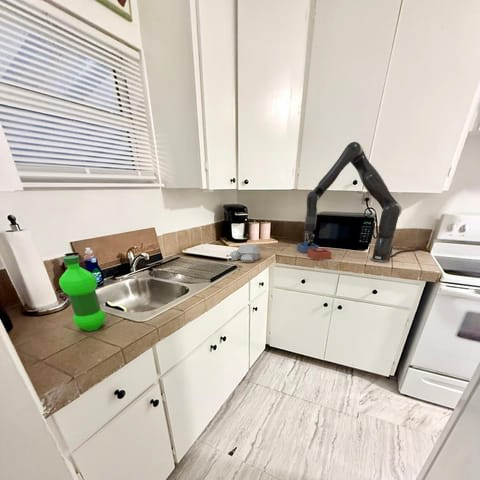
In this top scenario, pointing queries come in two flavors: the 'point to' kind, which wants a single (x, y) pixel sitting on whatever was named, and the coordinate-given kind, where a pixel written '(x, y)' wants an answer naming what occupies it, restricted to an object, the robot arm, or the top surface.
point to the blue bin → (305, 249)
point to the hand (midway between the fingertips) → (307, 247)
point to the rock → (246, 253)
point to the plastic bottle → (82, 294)
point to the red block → (319, 250)
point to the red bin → (319, 254)
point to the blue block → (306, 243)
